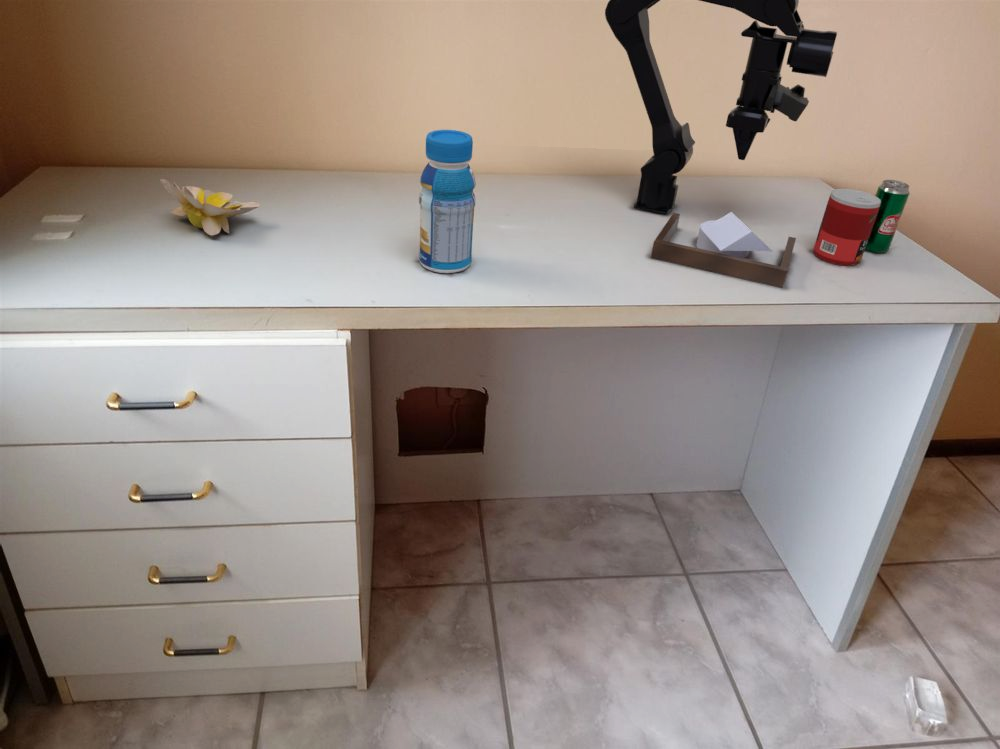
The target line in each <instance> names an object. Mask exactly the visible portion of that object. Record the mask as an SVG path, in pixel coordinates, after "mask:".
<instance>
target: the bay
mask: <svg viewBox="0 0 1000 749" xmlns="http://www.w3.org/2000/svg"><path fill="white" fill-rule="evenodd" d="M680 217H681V213H678V212H673V213H672V214H671V216H670V217H669V218H668V220H667V222H666V223H665V225H664V226H663V227H662V229H661V230H660V231H659V233H658V235H657V236H656V238H655V239H654V241H653V244H652V248H651V249H652V250H651V253H650V254H651V255H650V259H654V260H658V261H662V262H667V263H672V264H676V265H680V266H685V267H690V268H693V269H698V270H703V271H707V272H712V273H716V274H720V275H724V276H729V277H734V278H737V279H742V280H747V281H751V282H755V283H759V284H764V285H767V286H773V287H777V288H783V287H784V283H785V281H786V277H787V274H788V270H789V266H790V263H791V258H792V256H793V251H794V247H795V244H796V240H797V238H796V237H793V236H788V238H787V242H786V245H785V248H784V252H783V256H782V259H781V262H780V265H775V264H771V263H766V262H762V261H758V260H753V259H749V258H740V257H735V256H731V255H726V254H722V253H717V252H712V251H708V250H703V249H699V248H697V247H693V246H690V245H685V244H680V243H675V242H671V239H672V238H673V236H674V234H675V233H676V232H677V230H678V226H679V221H680Z"/></svg>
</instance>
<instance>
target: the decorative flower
mask: <svg viewBox="0 0 1000 749" xmlns="http://www.w3.org/2000/svg"><path fill="white" fill-rule="evenodd" d="M159 182H160V183H161V184H162V186H163V187H164V188H165V190H166V191H167V192H168V193H169V195H170V196H171V197H173V199H174V200H176V201H177V202H178V203H179V204H180V205H179V206H177V207H176V209H175V210H173V211H171V212H170V213H172V214H174V215H177V216H179V217H184V216H187V218H188V220H189V222H190V223H191V225H192V226H194V227H196V228H198V229H203V231H204V232H205V233H206V234H207V235H209V236H216V235H218V234H220V232H221V230H222V229H223V231H224V232H225V233H227V234H230V225H229V220H228V218H230V217H236V216H240V215H243V214H247V213H249V212H251V211H253V210H256V209H257V208H259V207H261V204H259V203H258V202H252V201H250V202H249V201H248V202H242V203H241V202H240V201H237V200H235V201H230V200H231V199H232V198H233V195H234V194H231V193H229V192H224V191H222V192H220V191H219V192H213V191H211V190H208V189H202V188H201V187H199V186H193V185H187V186H185V185H182V190H181V189H180V187H179V186H178V184H177V183H176V182H175V181H172V183H171V182H169V181H168V180H167V179H165V178H161V179H159Z"/></svg>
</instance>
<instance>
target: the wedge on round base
mask: <svg viewBox="0 0 1000 749" xmlns="http://www.w3.org/2000/svg"><path fill="white" fill-rule="evenodd" d="M695 245H696V248H699V249H703V250H708V251H712V252H717V253H722V254H726V255H731V256H735V257H740V258H744V259H746V258H747V257H748V256H749V255H750V252H773V250H772V248H770V247H769V246H768V245H767V244H766V243H765V241H763V240H762V239H761V238H760V237H759V236H758V235H757V234H756V233H755V232H754V231H752V229H750V228H749V227H748V225H746V224H745V222H743V220H741V219H740V218H739V217H737V215H736V214H734V212H733V211H730V212H728V213H726V214H725V215H723V216H722V217H720V218H719V219H716V220H715V219H714V220H713V219H712V220H706V221H703V222H702V223H701V224H700V226H699V230H698V235H697V240H696V242H695Z"/></svg>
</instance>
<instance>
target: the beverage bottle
mask: <svg viewBox="0 0 1000 749" xmlns="http://www.w3.org/2000/svg"><path fill="white" fill-rule="evenodd" d="M473 144H474V142H473V136H472V135H471V134H469V133H468V132H464V131H461V130H456V129H455V130H454V129H437V130H432V131H430V132H428V133H427V134H426V138H425V158H426V159H427V160H428V162H427V164H426V165H425V166H424V169H423V170H422V171H421V172H422V173H421V176H420V181H419V183H420V186H421V187H422V188H421V190H420V192H419V196H418V203H419V205H420V206H419V254H418V255H419V257H418V258H419V263H420V264H421V266H422V267H423V268H425V269H427V270H429V271H431V272H434V273H440V274H454V273H458V272H459V273H460V272H463V271H465V270H467V269H468V268H469V267H470V266H471V264H472V259H473V258H472V256H473V255H472V250H473V232H474V217H475V216H474V215H475V207H476V195H475V193H474V189H475V187H476V186H477V184H476V178H475V174H474V172H473V169H472V167H471V166H470V164H469V162H471V160H472V157H473Z"/></svg>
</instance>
